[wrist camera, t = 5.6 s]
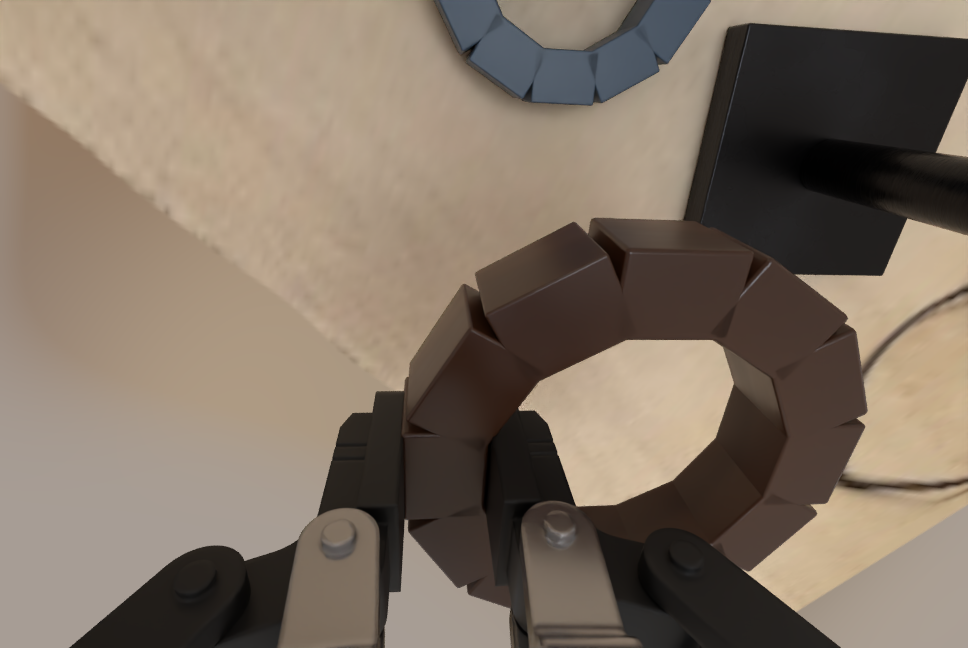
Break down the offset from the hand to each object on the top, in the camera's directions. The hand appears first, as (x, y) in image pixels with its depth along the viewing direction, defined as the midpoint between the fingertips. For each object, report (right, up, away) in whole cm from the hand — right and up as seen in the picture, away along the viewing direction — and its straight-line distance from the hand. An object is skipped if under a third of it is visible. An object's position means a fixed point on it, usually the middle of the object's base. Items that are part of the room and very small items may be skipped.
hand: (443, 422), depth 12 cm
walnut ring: (+4, 0, +1) cm, 4 cm away
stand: (+16, +10, +10) cm, 21 cm away
